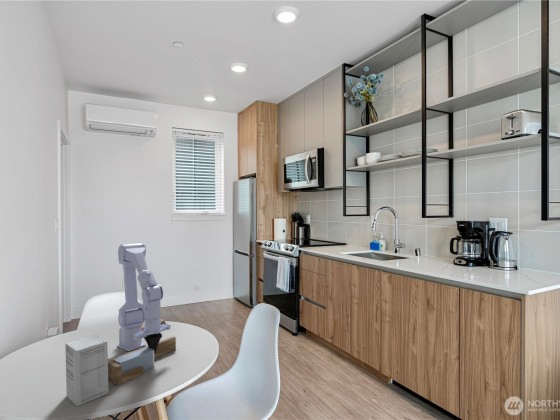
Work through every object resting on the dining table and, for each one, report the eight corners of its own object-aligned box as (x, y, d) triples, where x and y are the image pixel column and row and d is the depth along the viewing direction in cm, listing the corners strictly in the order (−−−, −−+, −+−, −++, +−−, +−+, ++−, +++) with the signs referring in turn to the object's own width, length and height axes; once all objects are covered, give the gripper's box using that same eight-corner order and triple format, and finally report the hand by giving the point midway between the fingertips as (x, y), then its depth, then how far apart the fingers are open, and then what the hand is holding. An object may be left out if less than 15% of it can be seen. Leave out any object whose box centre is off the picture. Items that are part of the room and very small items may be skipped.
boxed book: (113, 376, 118) (113, 359, 118) (147, 362, 128) (147, 347, 128) (120, 380, 115) (120, 363, 115) (154, 365, 126) (154, 349, 126)
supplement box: (97, 384, 113) (96, 334, 113) (109, 393, 107) (109, 340, 107) (65, 396, 106) (64, 342, 105) (76, 407, 100) (75, 350, 100)
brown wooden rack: (101, 376, 118) (101, 359, 118) (173, 348, 142) (173, 333, 142) (116, 385, 112) (116, 367, 112) (188, 354, 136) (188, 339, 136)
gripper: (140, 325, 120) (141, 363, 120) (175, 314, 132) (175, 349, 132) (130, 321, 124) (130, 358, 124) (164, 311, 136) (164, 345, 136)
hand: (152, 353), depth 128 cm, fingers closed
